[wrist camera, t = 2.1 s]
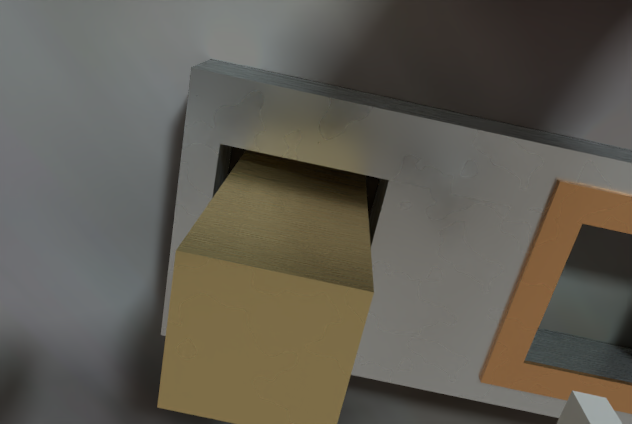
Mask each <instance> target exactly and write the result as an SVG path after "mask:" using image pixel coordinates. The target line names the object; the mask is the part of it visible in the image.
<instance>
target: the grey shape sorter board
mask: <svg viewBox="0 0 632 424" xmlns="http://www.w3.org/2000/svg"><path fill="white" fill-rule="evenodd" d="M232 147H237V148H242V149H246V150H251V151H256V152H260V153H265V154H270V155H274V156H279V157H284V158H288V159H293V160H297V161H302V162H307V163H311V164H316V165H321V166H325V167H330V168H335V169H339V170H344V171H349V172H353V173H358V174H363V175H367V176H372V177H376V178H380V179H379V183H378V187H377V191H376V194H375V198H374V202H373V206H372V210H371V213H370V217H369V231H370V245H371V258H372V272H373V285H374V294H373V298H372V301H371V305H370V309H369V312H368V316H367V319H366V323H365V326H364V330H363V333H362V337H361V340H360V344H359V348H358V351H357V355H356V358H355V362H354V365H353V369H352V372H351V375H355V376H360V377H364V378H369V379H374V380H379V381H384V382H388V383H393V384H398V385H403V386H408V387H412V388H417V389H422V390H427V391H432V392H436V393H441V394H446V395H451V396H456V397H460V398H465V399H470V400H475V401H479V402H484V403H489V404H494V405H499V406H503V407H508V408H513V409H518V410H523V411H527V412H532V413H537V414H542V415H547V416H551V417H556V418H559V417H560V415H561V413H562V411H563V409H564V407H565V405H566V403H567V400H568V398H569V396H570V394H571V392H572V390H573V391H577V392H582V393H586V394H591V395H595V396H600V397H605V398H607V400H608V401H609V403H610V405H611V406H612V408H613V409H614V411H615V413H616V414H617V416H618V417H619V419H620V421H621V422H622V424H632V349H631V348H626V347H621V346H617V345H612V344H607V343H603V342H598V341H593V340H588V339H584V338H579V337H574V336H569V335H565V334H560V333H555V332H551V331H546V330H541V329H538V327H539V325H540V322H541V320H542V318H543V315H544V313H545V311H546V308H547V306H548V304H549V301H550V299H551V297H552V294H553V292H554V290H555V287H556V285H557V282H558V280H559V278H560V275H561V273H562V271H563V268H564V266H565V264H566V261H567V259H568V257H569V254H570V252H571V250H572V247H573V245H574V242H575V240H576V238H577V235H578V233H579V231H580V228H581V226H582V224H586V225H591V226H596V227H600V228H605V229H610V230H614V231H619V232H623V233H628V234H632V151H631V150H626V149H622V148H617V147H612V146H608V145H603V144H599V143H594V142H590V141H585V140H580V139H576V138H571V137H567V136H562V135H557V134H553V133H548V132H544V131H539V130H534V129H530V128H525V127H521V126H516V125H512V124H507V123H502V122H498V121H493V120H489V119H484V118H479V117H475V116H470V115H466V114H461V113H456V112H452V111H447V110H443V109H438V108H434V107H429V106H424V105H420V104H415V103H411V102H406V101H401V100H397V99H392V98H388V97H383V96H378V95H374V94H369V93H365V92H360V91H355V90H351V89H346V88H342V87H337V86H333V85H328V84H323V83H319V82H314V81H310V80H305V79H300V78H296V77H291V76H287V75H282V74H277V73H273V72H268V71H264V70H259V69H255V68H250V67H245V66H241V65H236V64H232V63H227V62H222V61H218V60H213V59H210V60H207V61H205V62H203V63H200V64H198V65H196V66H193V67H191V75H190V83H189V92H188V101H187V110H186V118H185V127H184V136H183V145H182V153H181V162H180V171H179V179H178V188H177V197H176V206H175V214H174V223H173V232H172V241H171V249H170V258H169V267H168V275H167V284H166V293H165V302H164V310H163V319H162V328H161V335H163V336H166V329H167V321H168V312H169V304H170V295H171V287H172V279H173V270H174V262H175V253H176V250H177V248H178V247H179V245H180V244H181V242H182V241H183V240H184V238H185V237H186V235H187V234H188V232H189V231H190V230H191V228H192V227H193V225H194V224H195V222H196V221H197V220H198V218H199V217H200V215H201V214H202V212H203V211H204V209H205V208H206V207H207V205H208V204H209V202H210V201H211V199H212V198H213V197H214V195H215V194H216V192H217V191H218V189H219V188H220V187H221V185H222V184H223V182H224V181H225V179H226V178H227V177H228V173H229V166H230V160H231V153H232Z"/></svg>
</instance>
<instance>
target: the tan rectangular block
mask: <svg viewBox="0 0 632 424" xmlns="http://www.w3.org/2000/svg"><path fill="white" fill-rule="evenodd" d="M373 294H374V285H373V272H372V258H371V245H370V231H369V218H368V205H367V191H366V178H365V175H363V174H358V173H353V172H349V171H344V170H339V169H335V168H330V167H325V166H321V165H316V164H311V163H307V162H302V161H297V160H293V159H288V158H284V157H279V156H274V155H270V154H265V153H260V152H256V151H251V150H246V151H245V152H244V154H243V155H242V157H241V158H240V159H239V161H238V162H237V164H236V165H235V167H234V168H233V169H232V171H231V172H230V174H229V175H228V177H227V178H226V179H225V181H224V182H223V184H222V185H221V187H220V188H219V189H218V191H217V192H216V194H215V195H214V197H213V198H212V199H211V201H210V202H209V204H208V205H207V207H206V208H205V209H204V211H203V212H202V214H201V215H200V217H199V218H198V220H197V221H196V222H195V224H194V225H193V227H192V228H191V230H190V231H189V232H188V234H187V235H186V237H185V238H184V240H183V241H182V242H181V244H180V245H179V247H178V248H177V250H176V253H175V262H174V270H173V279H172V287H171V295H170V304H169V312H168V321H167V329H166V338H165V346H164V354H163V363H162V371H161V380H160V388H159V397H158V405H157V408H162V409H167V410H172V411H177V412H181V413H186V414H191V415H196V416H201V417H206V418H211V419H215V420H220V421H225V422H230V423H235V424H337V422H338V419H339V415H340V411H341V408H342V404H343V401H344V397H345V394H346V390H347V387H348V383H349V380H350V376H351V372H352V369H353V365H354V362H355V358H356V355H357V351H358V348H359V344H360V340H361V337H362V333H363V330H364V326H365V323H366V319H367V316H368V312H369V309H370V305H371V301H372V298H373Z"/></svg>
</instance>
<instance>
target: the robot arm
mask: <svg viewBox="0 0 632 424" xmlns="http://www.w3.org/2000/svg"><path fill="white" fill-rule="evenodd" d="M557 424H622V422H621V421H620V419H619V417H618V416H617V414H616V413H615V411H614V409H613V408H612V406H611V405H610V403H609V401H608V400H607V398H605V397H600V396H595V395H591V394H586V393H582V392H577V391H573V390H572V392H571V394H570V396H569V398H568V400H567V403H566V405H565V407H564V409H563V411H562V413H561V415H560V417H559V419H558V422H557Z"/></svg>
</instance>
